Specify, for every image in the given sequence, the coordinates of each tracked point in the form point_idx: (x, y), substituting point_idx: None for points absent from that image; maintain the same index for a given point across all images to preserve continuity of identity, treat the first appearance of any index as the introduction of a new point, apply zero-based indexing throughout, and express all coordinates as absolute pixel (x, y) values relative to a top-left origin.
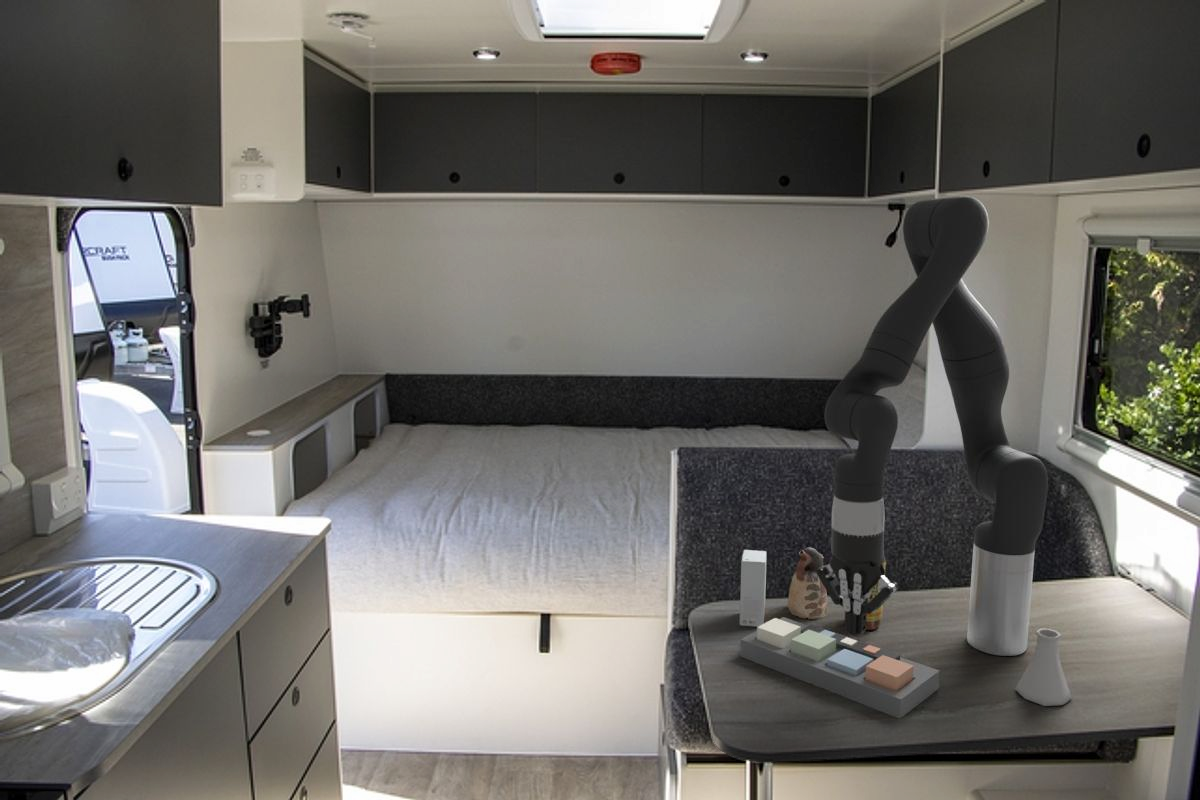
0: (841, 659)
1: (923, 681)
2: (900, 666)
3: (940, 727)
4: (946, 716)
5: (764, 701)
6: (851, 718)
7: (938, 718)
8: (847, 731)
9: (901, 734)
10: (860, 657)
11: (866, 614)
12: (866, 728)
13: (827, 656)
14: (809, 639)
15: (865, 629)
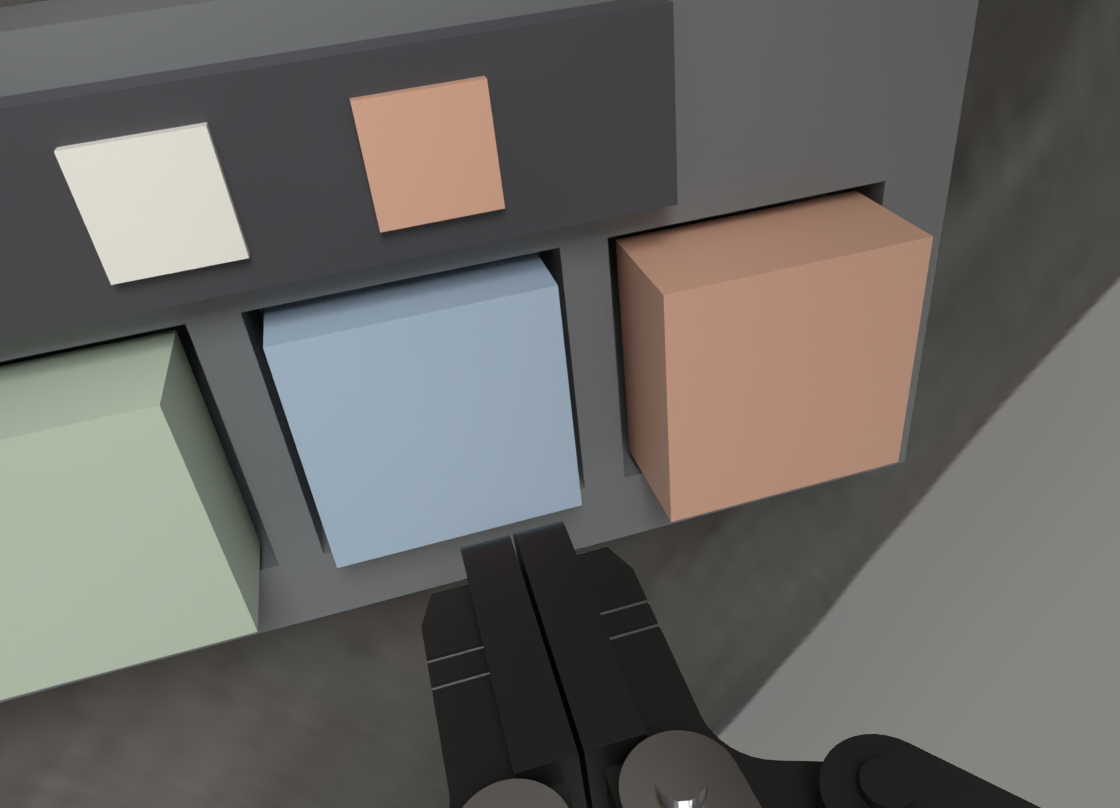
0: (402, 489)
1: (942, 175)
2: (857, 329)
3: (1019, 297)
4: (1021, 178)
5: (303, 780)
6: (668, 567)
7: (990, 233)
8: (713, 635)
9: (893, 481)
10: (471, 352)
11: (696, 710)
12: (759, 565)
13: (219, 452)
14: (43, 602)
15: (622, 564)
